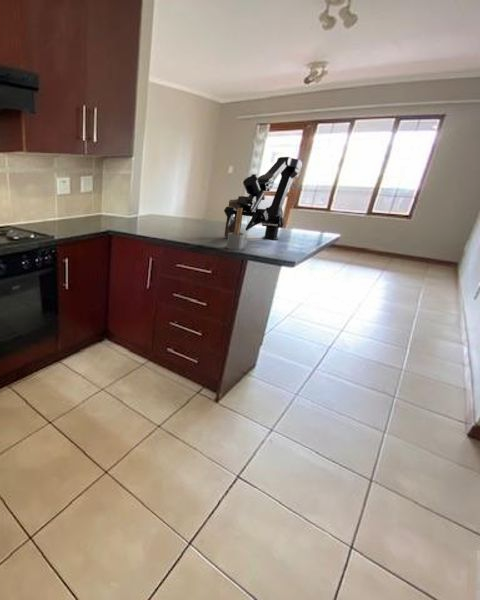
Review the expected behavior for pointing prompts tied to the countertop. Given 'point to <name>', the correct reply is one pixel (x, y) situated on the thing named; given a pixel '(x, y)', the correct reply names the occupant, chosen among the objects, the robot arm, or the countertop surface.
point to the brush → (238, 221)
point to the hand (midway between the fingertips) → (236, 228)
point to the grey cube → (235, 241)
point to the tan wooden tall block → (232, 227)
